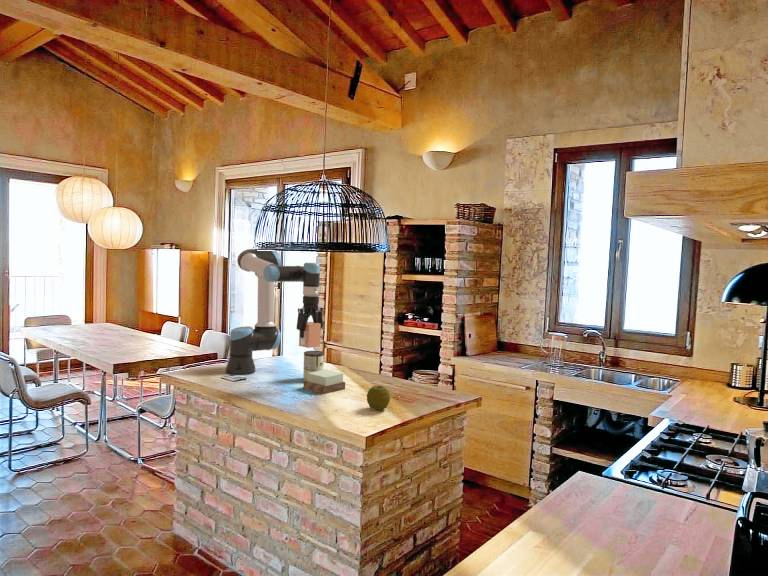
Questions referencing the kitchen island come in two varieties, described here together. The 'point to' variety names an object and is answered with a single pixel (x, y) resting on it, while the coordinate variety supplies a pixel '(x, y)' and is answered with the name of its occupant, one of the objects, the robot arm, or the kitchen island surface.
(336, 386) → the walnut block
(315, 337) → the terracotta block
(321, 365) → the coffee can
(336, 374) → the sage block
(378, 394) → the apple
